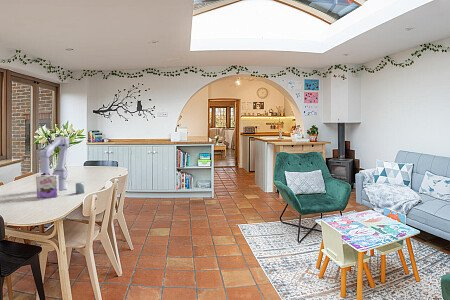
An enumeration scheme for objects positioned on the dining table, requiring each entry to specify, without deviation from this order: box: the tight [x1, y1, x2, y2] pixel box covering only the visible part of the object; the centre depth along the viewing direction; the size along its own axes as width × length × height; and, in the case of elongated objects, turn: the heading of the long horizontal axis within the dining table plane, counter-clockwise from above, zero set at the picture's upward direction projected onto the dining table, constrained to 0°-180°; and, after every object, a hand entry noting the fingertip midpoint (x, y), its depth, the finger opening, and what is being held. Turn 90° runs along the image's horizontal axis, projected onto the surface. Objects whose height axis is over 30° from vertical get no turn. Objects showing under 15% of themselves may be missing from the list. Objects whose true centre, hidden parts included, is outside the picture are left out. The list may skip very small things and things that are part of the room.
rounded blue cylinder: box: [75, 182, 85, 195], centre depth 245 cm, size 6×6×8 cm
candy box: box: [35, 174, 60, 199], centre depth 232 cm, size 14×6×16 cm, turn 101°
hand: (45, 182), depth 238 cm, fingers closed
